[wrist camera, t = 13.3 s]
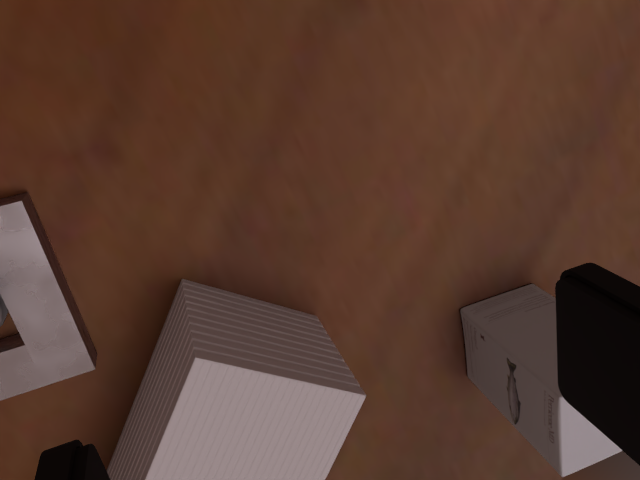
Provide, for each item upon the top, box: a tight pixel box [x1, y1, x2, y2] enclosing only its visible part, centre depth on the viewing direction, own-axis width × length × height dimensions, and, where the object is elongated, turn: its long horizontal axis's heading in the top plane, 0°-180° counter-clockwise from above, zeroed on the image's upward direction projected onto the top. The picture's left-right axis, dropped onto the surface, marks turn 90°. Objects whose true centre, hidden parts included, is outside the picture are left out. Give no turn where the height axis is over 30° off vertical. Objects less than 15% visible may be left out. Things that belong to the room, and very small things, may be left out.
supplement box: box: [460, 284, 623, 477], centre depth 43 cm, size 7×7×13 cm
